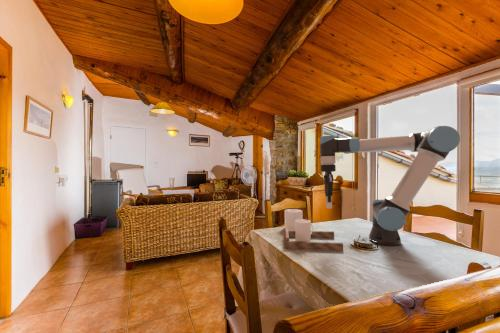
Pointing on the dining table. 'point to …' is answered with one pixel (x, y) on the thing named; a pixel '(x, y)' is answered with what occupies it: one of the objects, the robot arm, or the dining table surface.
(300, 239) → the mug
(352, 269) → the dining table surface
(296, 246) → the brown rectangular tray
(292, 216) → the cup
